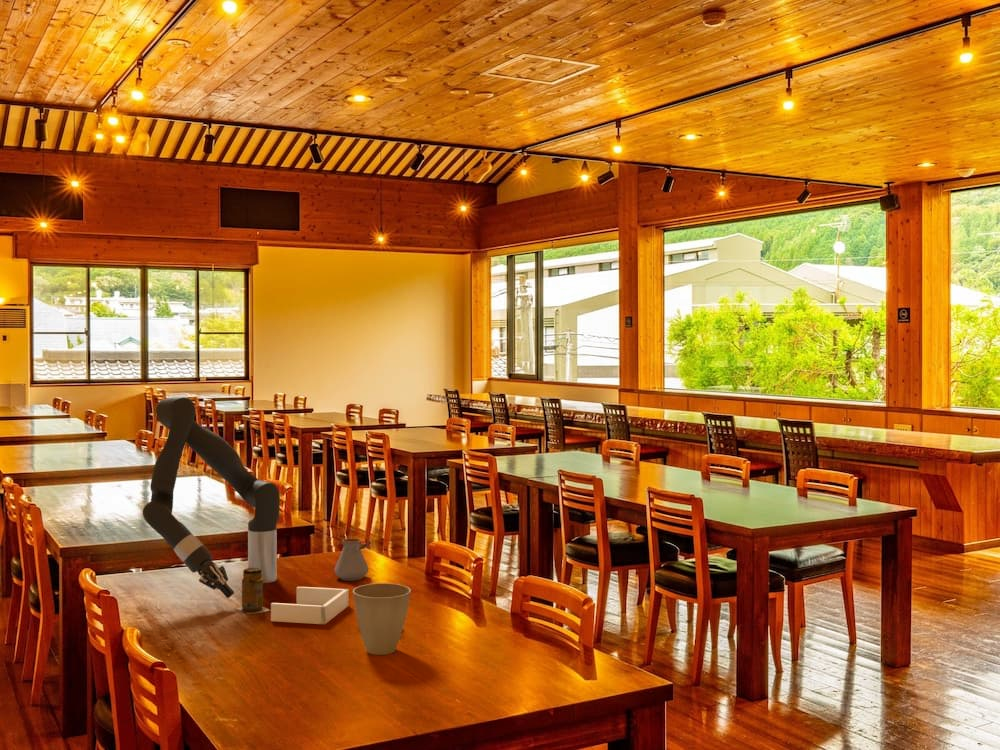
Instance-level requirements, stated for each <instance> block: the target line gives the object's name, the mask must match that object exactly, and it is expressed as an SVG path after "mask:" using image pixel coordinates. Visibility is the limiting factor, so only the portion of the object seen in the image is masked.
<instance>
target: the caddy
mask: <svg viewBox="0 0 1000 750" xmlns="http://www.w3.org/2000/svg"><path fill="white" fill-rule="evenodd" d="M349 592H350V589H349V588H333V587H331V588H330V587H315V586H314V587H312V586H311V587H310V586H297V587H296V603H283V602H282V603H281V602H271V603H270V610H271V611H270V621H271V622H277V623H279V622H281V623H298V624H309V625H310V624H314V625H315V624H316V625H326V624H327V623H329V622H330V621H331V620H332V619H334V618H335V617H336V616H338V615H339V614H341V612H343V611H344V610H345V609H346V608H348V607H349V606H350V605H349V600H350V599H349V597H350V596H349V595H350V593H349Z"/></svg>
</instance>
